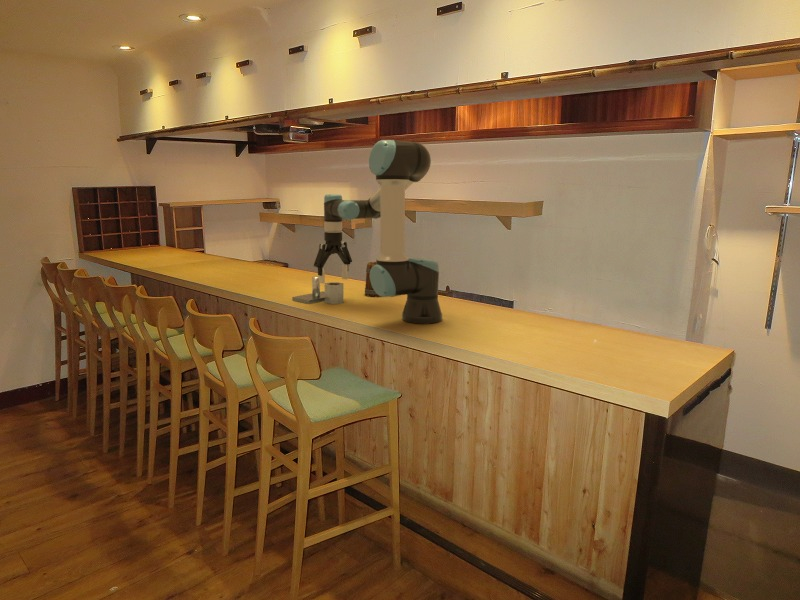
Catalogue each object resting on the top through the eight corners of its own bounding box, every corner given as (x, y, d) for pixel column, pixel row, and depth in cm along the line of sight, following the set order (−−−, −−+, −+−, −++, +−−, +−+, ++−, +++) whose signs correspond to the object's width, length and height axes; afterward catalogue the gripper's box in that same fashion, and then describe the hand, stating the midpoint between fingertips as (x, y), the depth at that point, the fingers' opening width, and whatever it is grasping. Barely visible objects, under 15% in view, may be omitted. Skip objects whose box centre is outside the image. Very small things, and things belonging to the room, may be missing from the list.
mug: (361, 296, 244) (361, 263, 241) (369, 292, 254) (369, 260, 251) (393, 298, 239) (393, 265, 236) (400, 294, 249) (401, 262, 246)
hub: (347, 301, 231) (347, 283, 230) (333, 304, 225) (333, 286, 224) (334, 299, 236) (334, 281, 235) (321, 302, 230) (320, 284, 229)
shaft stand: (339, 297, 240) (339, 275, 238) (309, 304, 226) (308, 280, 224) (322, 294, 247) (322, 273, 245) (292, 300, 233) (291, 277, 231)
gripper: (347, 229, 236) (347, 276, 241) (304, 232, 217) (305, 283, 222) (360, 230, 232) (359, 278, 236) (317, 234, 213) (317, 286, 217)
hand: (333, 281), depth 229 cm, fingers open, 13 cm apart
